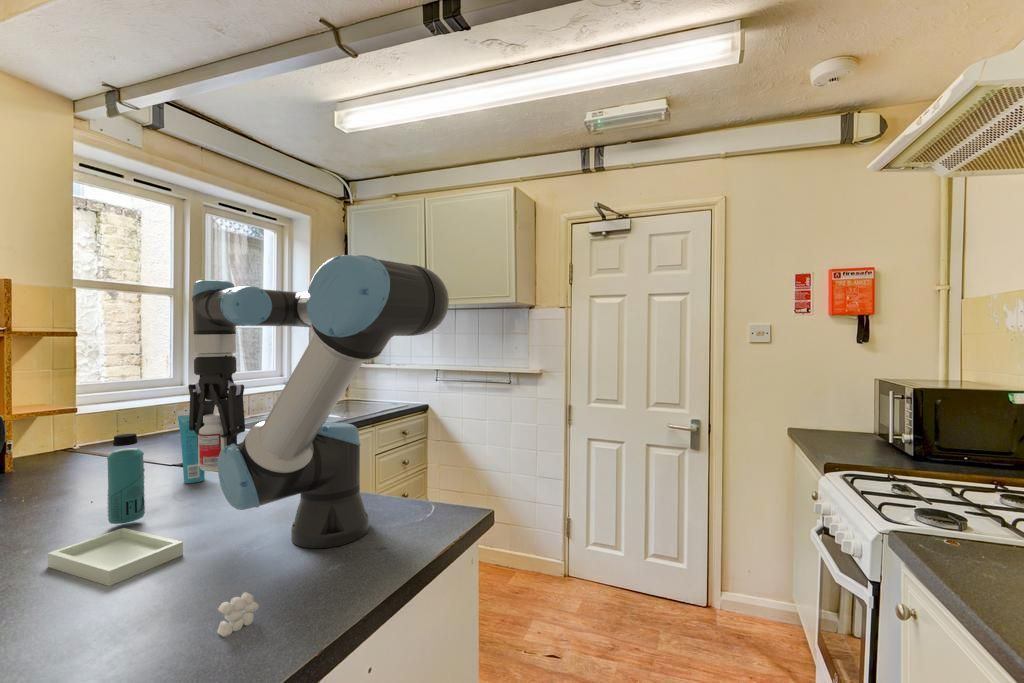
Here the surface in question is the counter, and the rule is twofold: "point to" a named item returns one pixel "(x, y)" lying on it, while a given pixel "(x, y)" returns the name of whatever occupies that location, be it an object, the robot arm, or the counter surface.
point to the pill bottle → (210, 442)
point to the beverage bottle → (125, 481)
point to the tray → (115, 555)
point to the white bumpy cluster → (237, 613)
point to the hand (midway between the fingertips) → (217, 465)
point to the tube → (189, 452)
